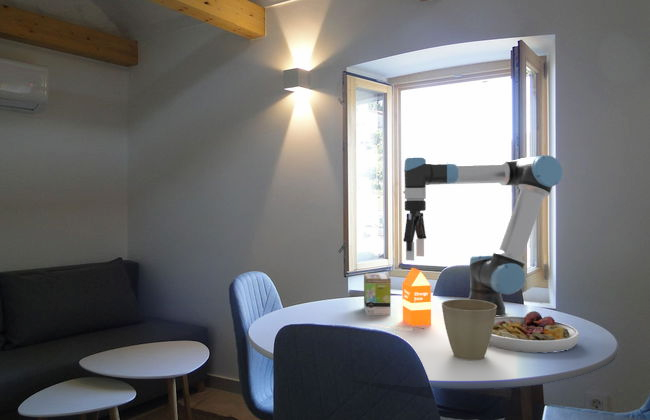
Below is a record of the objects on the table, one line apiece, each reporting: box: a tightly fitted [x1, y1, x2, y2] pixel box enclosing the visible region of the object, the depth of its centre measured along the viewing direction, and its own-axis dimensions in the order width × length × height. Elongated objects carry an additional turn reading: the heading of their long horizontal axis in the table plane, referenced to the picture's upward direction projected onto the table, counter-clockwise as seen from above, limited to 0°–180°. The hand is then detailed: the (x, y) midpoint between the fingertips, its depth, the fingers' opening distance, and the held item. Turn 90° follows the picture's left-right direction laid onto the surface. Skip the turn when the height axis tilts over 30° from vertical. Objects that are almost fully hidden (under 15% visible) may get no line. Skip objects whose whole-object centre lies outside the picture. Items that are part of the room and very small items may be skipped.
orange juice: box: [402, 267, 432, 326], centre depth 187 cm, size 8×9×20 cm
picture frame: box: [367, 323, 425, 332], centre depth 175 cm, size 24×18×1 cm
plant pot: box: [441, 298, 497, 361], centre depth 144 cm, size 15×15×16 cm
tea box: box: [363, 273, 392, 316], centre depth 208 cm, size 15×10×15 cm
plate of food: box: [488, 311, 580, 353], centre depth 161 cm, size 30×30×8 cm
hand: (415, 258), depth 187 cm, fingers open, 13 cm apart
